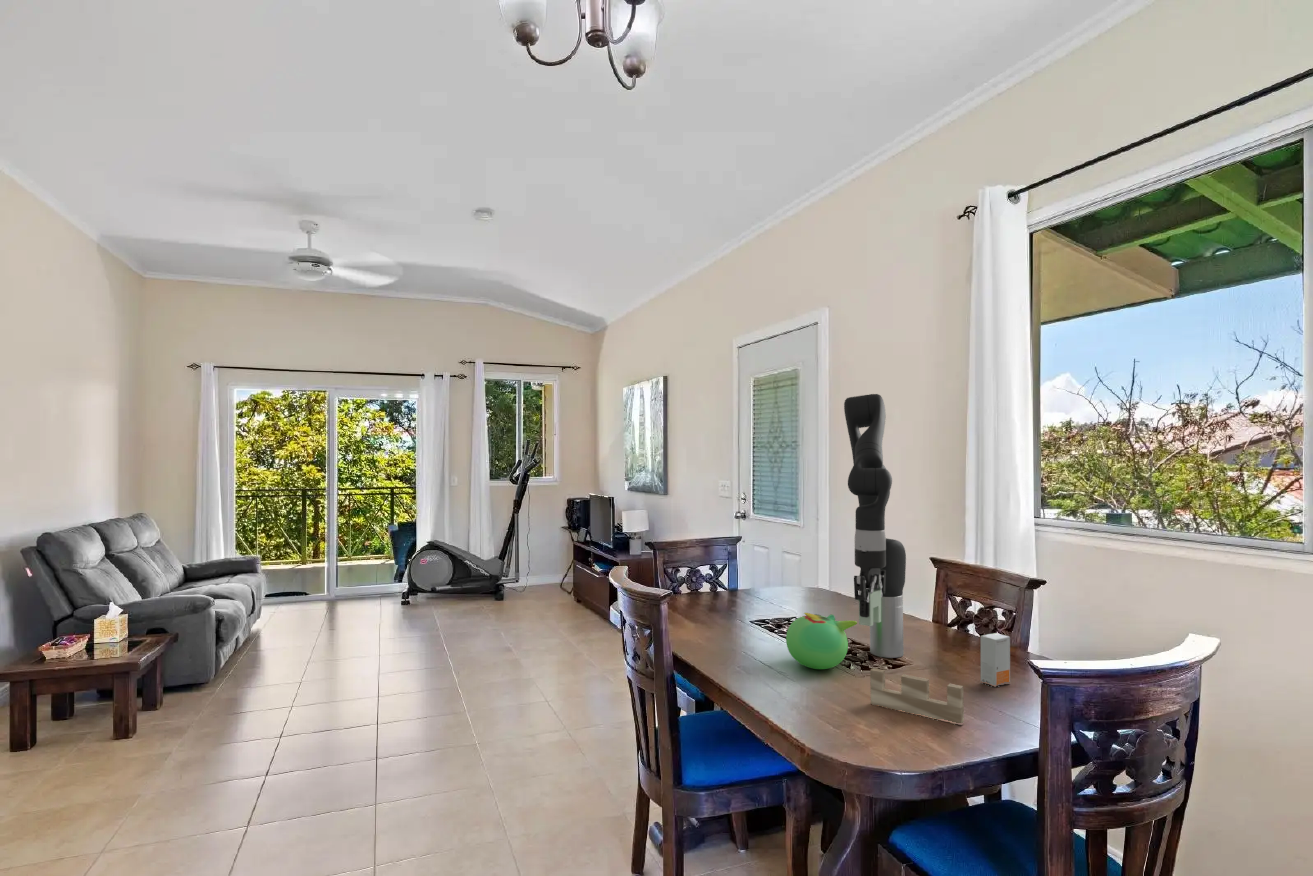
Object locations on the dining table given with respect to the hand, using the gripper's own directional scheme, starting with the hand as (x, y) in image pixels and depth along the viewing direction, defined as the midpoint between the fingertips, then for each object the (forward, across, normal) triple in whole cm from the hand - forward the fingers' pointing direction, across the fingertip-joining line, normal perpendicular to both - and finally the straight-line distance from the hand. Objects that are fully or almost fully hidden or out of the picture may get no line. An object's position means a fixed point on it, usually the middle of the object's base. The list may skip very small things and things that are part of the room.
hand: (870, 614), depth 172 cm
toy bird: (+18, -6, -17) cm, 26 cm away
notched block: (+2, 0, 0) cm, 2 cm away
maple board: (+18, +10, +15) cm, 26 cm away
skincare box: (+18, -22, +23) cm, 37 cm away
